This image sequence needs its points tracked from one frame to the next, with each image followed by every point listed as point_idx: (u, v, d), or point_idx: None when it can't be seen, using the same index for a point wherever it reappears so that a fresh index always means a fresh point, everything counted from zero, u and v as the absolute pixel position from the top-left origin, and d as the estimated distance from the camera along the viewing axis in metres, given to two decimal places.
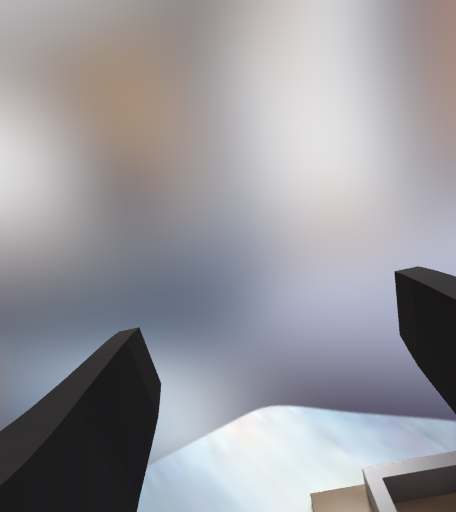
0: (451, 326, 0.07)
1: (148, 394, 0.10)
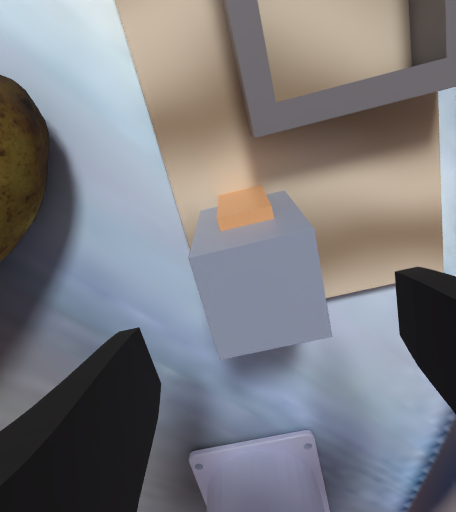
0: (451, 326, 0.07)
1: (148, 394, 0.10)
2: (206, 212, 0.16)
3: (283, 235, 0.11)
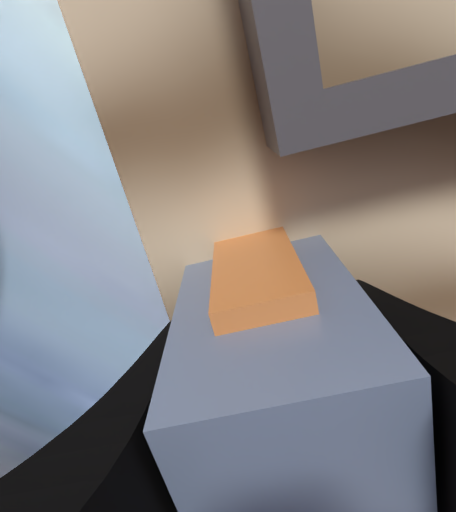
0: None
1: None
2: (194, 272, 0.10)
3: (356, 385, 0.05)
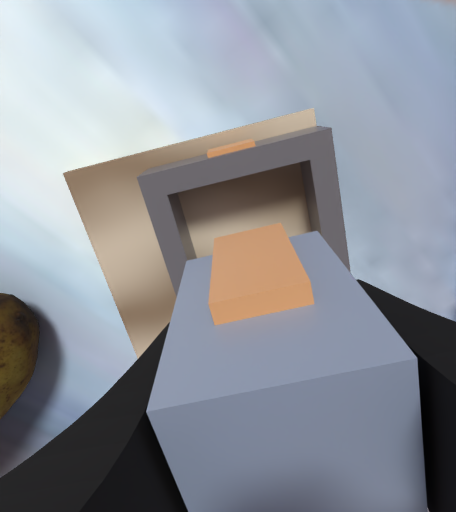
0: None
1: None
2: (195, 266, 0.10)
3: (348, 367, 0.05)
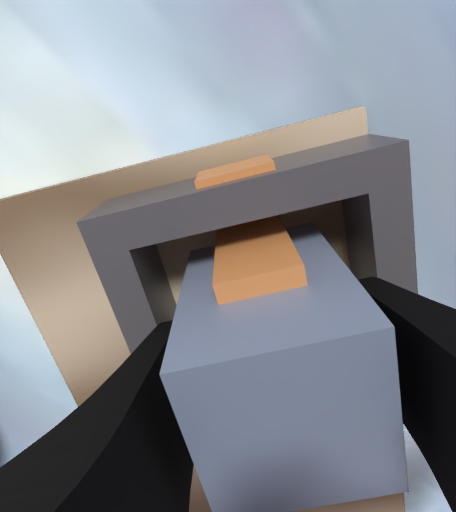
0: None
1: None
2: (198, 256, 0.11)
3: (335, 335, 0.06)
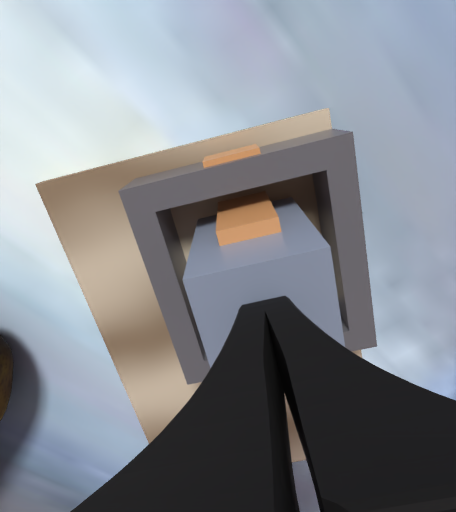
0: (281, 361, 0.08)
1: (277, 368, 0.09)
2: (204, 221, 0.15)
3: (294, 253, 0.10)
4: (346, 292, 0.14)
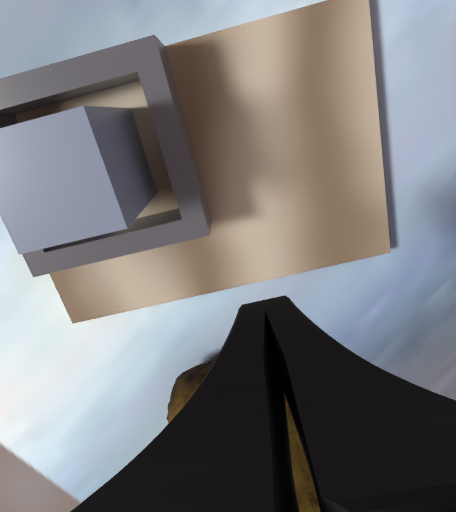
0: (281, 361, 0.08)
1: (277, 368, 0.09)
2: None
3: None
4: (93, 80, 0.14)
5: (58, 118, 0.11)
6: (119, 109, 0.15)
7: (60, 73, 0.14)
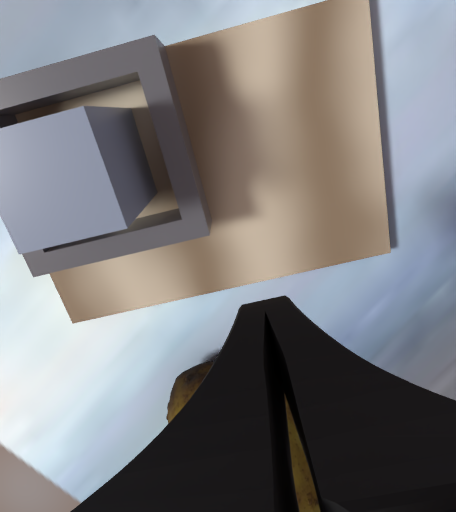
0: (281, 361, 0.08)
1: (277, 368, 0.09)
2: None
3: None
4: (93, 80, 0.14)
5: (58, 118, 0.11)
6: (119, 109, 0.15)
7: (60, 73, 0.14)
